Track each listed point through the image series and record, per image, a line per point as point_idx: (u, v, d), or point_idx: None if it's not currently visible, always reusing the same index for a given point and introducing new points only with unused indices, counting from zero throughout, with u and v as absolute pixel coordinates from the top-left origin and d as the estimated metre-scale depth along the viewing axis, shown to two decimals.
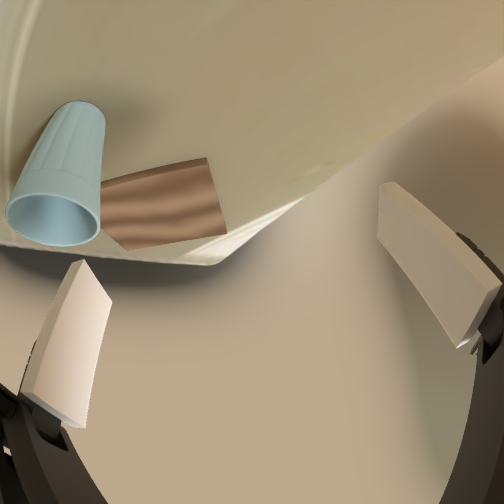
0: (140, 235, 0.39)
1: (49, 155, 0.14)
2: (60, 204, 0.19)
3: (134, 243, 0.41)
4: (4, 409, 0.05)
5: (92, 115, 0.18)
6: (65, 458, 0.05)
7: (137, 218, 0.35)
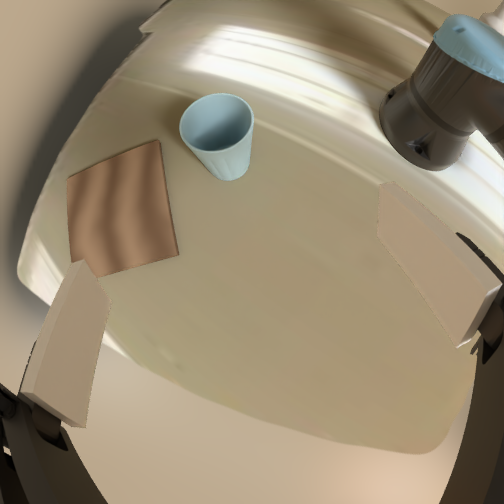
0: (87, 194, 0.36)
1: (251, 138, 0.29)
2: (196, 131, 0.30)
3: (76, 187, 0.36)
4: (4, 409, 0.05)
5: (241, 172, 0.34)
6: (65, 458, 0.05)
7: (113, 193, 0.35)
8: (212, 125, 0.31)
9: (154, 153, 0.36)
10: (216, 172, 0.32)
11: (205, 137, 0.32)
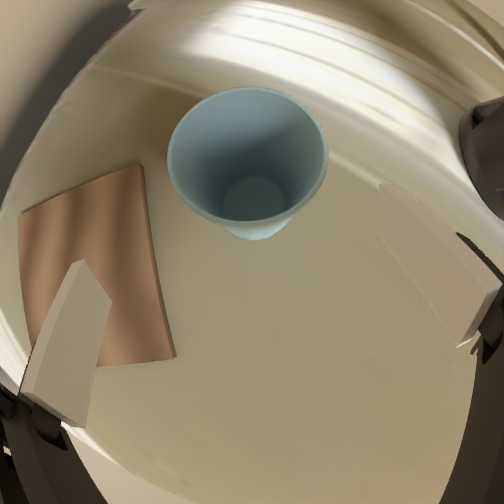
0: (41, 244, 0.22)
1: None
2: (201, 159, 0.16)
3: (28, 231, 0.23)
4: (4, 409, 0.05)
5: (278, 230, 0.21)
6: (65, 458, 0.05)
7: (74, 248, 0.22)
8: (231, 147, 0.18)
9: (132, 186, 0.22)
10: (237, 234, 0.19)
11: (217, 167, 0.19)
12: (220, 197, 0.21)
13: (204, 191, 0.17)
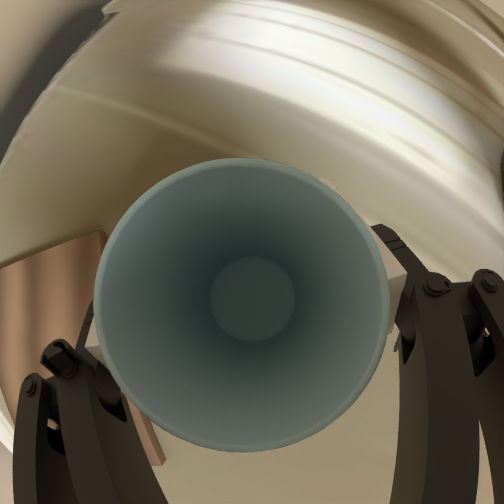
0: (4, 318, 0.16)
1: None
2: (165, 272, 0.10)
3: None
4: (62, 368, 0.06)
5: None
6: (124, 431, 0.06)
7: (37, 332, 0.16)
8: (214, 238, 0.12)
9: (92, 264, 0.16)
10: None
11: (195, 265, 0.13)
12: (204, 293, 0.15)
13: (176, 312, 0.11)
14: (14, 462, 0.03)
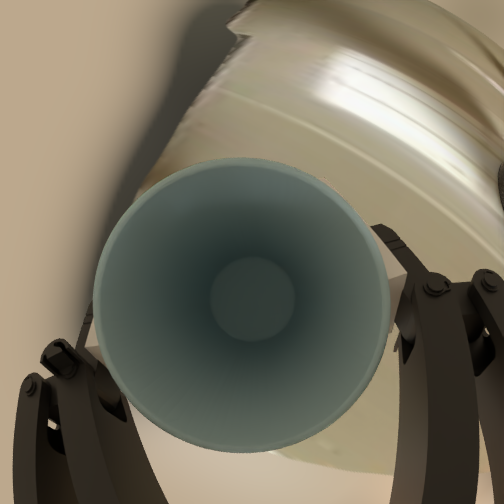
0: None
1: None
2: (165, 272, 0.10)
3: None
4: (62, 368, 0.06)
5: None
6: (124, 431, 0.06)
7: None
8: (214, 238, 0.12)
9: None
10: None
11: (195, 265, 0.13)
12: (204, 293, 0.15)
13: (176, 312, 0.11)
14: (14, 462, 0.03)
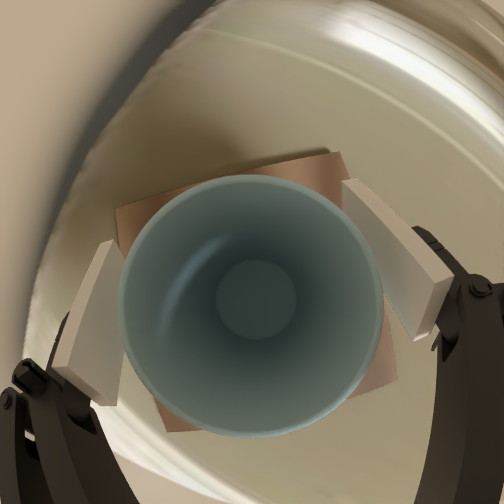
0: None
1: None
2: (179, 275, 0.11)
3: None
4: (32, 386, 0.05)
5: None
6: (93, 443, 0.06)
7: None
8: (222, 243, 0.12)
9: (339, 179, 0.18)
10: None
11: (204, 268, 0.13)
12: (211, 294, 0.16)
13: (187, 312, 0.12)
14: None
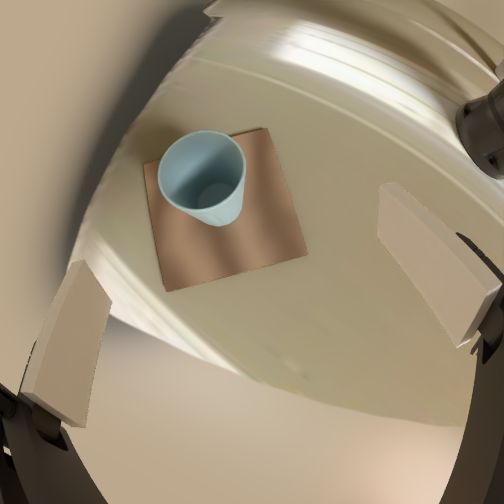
0: None
1: None
2: (179, 174, 0.26)
3: None
4: (4, 409, 0.05)
5: (233, 218, 0.31)
6: (65, 458, 0.05)
7: None
8: (198, 165, 0.28)
9: (265, 142, 0.33)
10: (204, 221, 0.29)
11: (191, 179, 0.29)
12: (195, 198, 0.31)
13: (182, 194, 0.27)
14: None
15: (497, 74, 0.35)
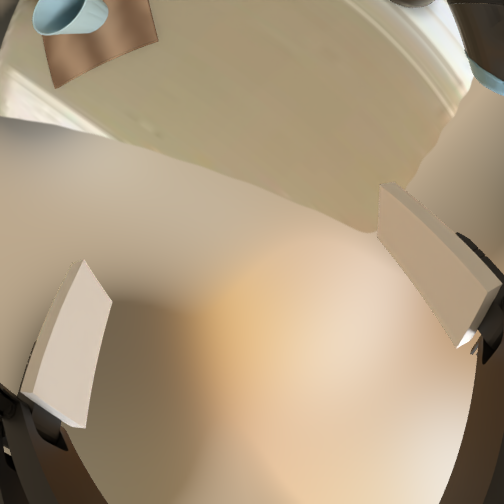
0: None
1: (94, 5, 0.17)
2: (52, 10, 0.16)
3: None
4: (4, 409, 0.05)
5: (98, 25, 0.23)
6: (65, 458, 0.05)
7: None
8: None
9: None
10: (74, 33, 0.21)
11: (64, 8, 0.17)
12: (71, 18, 0.20)
13: (56, 21, 0.18)
14: None
15: None
